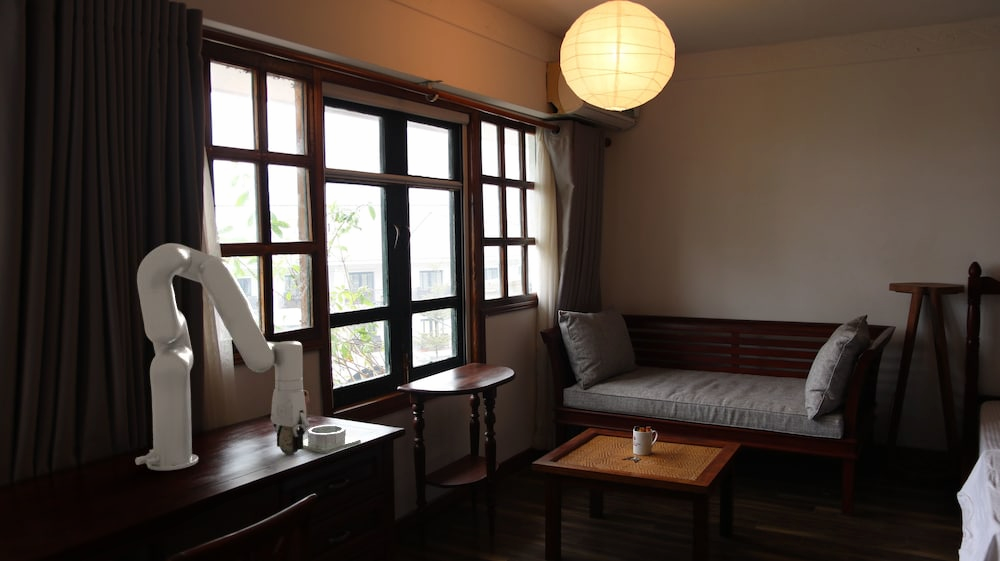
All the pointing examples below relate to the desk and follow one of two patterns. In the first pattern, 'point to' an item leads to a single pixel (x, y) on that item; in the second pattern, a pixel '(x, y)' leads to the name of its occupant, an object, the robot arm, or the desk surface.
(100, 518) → the desk surface
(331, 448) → the duct collar
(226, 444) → the desk surface
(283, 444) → the decorative egg
